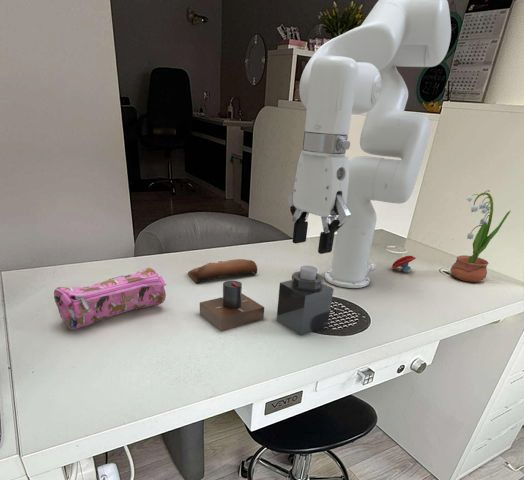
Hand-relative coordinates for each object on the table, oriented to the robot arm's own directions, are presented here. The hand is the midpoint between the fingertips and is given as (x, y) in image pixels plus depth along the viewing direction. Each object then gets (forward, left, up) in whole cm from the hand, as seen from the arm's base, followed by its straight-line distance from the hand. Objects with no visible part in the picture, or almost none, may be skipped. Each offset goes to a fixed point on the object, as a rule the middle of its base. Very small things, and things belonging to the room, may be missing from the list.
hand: (311, 246), depth 77 cm
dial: (+12, -11, -14) cm, 21 cm away
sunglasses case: (0, -33, -17) cm, 38 cm away
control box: (+12, -10, -17) cm, 23 cm away
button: (-51, -10, -17) cm, 55 cm away
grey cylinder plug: (0, 0, -7) cm, 7 cm away
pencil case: (+33, -23, -17) cm, 44 cm away
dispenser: (0, 0, -17) cm, 17 cm away
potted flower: (-64, +3, -17) cm, 67 cm away
